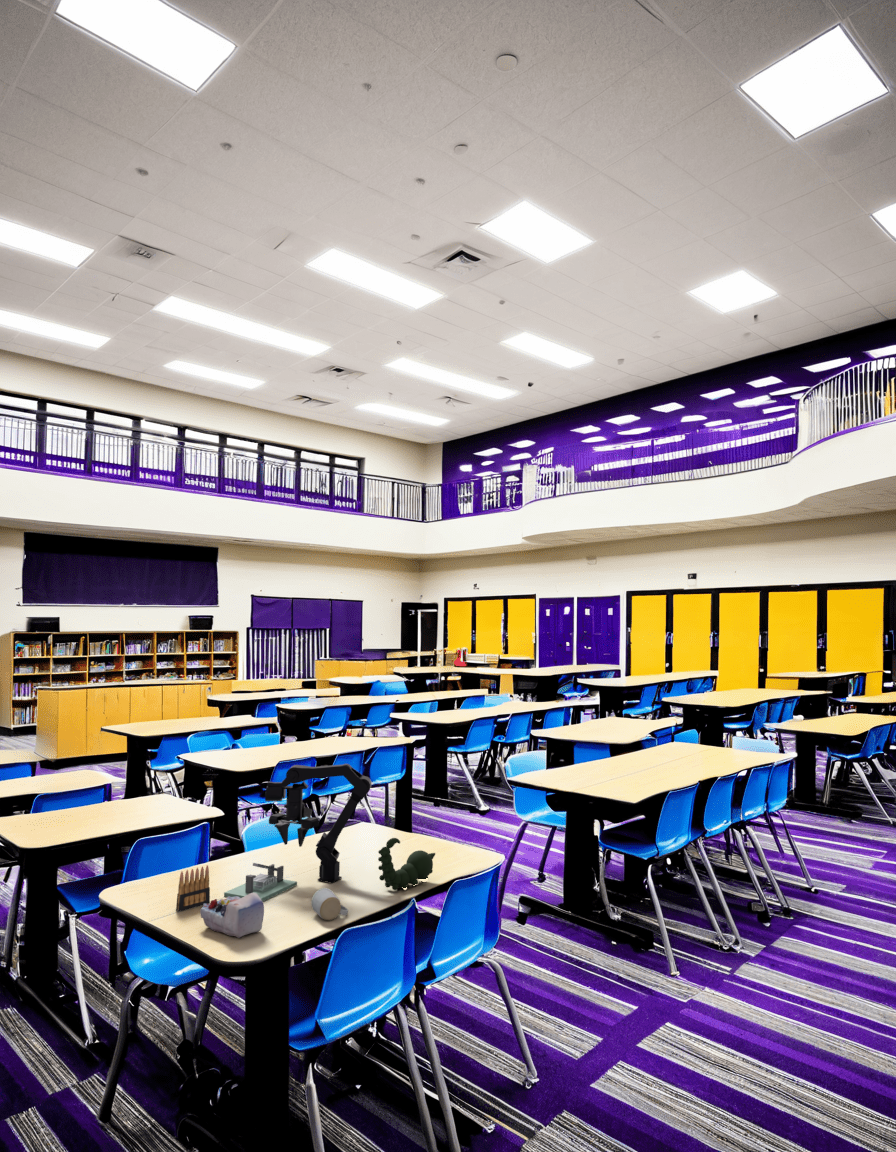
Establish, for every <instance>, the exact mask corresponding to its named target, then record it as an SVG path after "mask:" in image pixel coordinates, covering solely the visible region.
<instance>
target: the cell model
mask: <svg viewBox="0 0 896 1152" xmlns="http://www.w3.org/2000/svg"><path fill="white" fill-rule="evenodd" d="M199 912H200V918H201V919H203V922H204V925H205V926H206V927H207V928H208V929H210V930H212V931H214V932H218V933H223V934H224V935H227V936H229V937H232V936H234V937H236V938H239V939H240V938H242V937H244V936H246V935H249V934H252V933H253V934H255V933H258V932H261V930H262V928H263V923H264V916H265V905H264V901H262V900H261V899H260V897H259V896H258V894H257V893H250V894H248V895H246V896H244V897H242V898H240V897H238V896H235V897H230V896H228V897H226V898H221V899H219V900H218V899H217V898H214V899H212V900H210V903H209V904H205V903H204V904H203V905H202V906H201V908H200V910H199Z"/></svg>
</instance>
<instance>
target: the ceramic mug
mask: <svg viewBox="0 0 896 1152" xmlns="http://www.w3.org/2000/svg"><path fill="white" fill-rule="evenodd" d="M310 904H311V908H312V910H313V912H315V914H317V916H319V917H320V918H321V919H322V920H324V921H332V920H334V919H336V918H337V917H338V916H339V915H341V916H347V915H348V912H349V909H348V908H347V907H345V906H344V905H342V903H341V901H340V899H339V898H338V896H336V894H335V893H334V891H333V890H332V889H329V888H327V887H323V888H322V887H321V888H320V889H317V891H315V892H314V894H313V896H312V898H311V903H310Z"/></svg>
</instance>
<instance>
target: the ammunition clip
mask: <svg viewBox="0 0 896 1152" xmlns="http://www.w3.org/2000/svg"><path fill="white" fill-rule="evenodd" d="M200 868H201V869H200V870H199V867H196V869H195V872H194V869H193V868H191V871H190V873H189V870H188V869H186V871H185V875H184V871H182V870H181V872H180V876H179V882H178V889H177V890H178V891H177V892H178V893H177V897H176V905H175V906H176V907H175V911H177V912H184V911H187V910H191V909H194V908H198V907H203V904H204V903H205V904H210V903H211V893H210V892H211V891H210V890H211V888H210V870H209V865H208V864H207V865H206V867H205V869H204V866H201V867H200ZM189 874H190V876H189Z"/></svg>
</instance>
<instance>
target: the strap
mask: <svg viewBox="0 0 896 1152" xmlns="http://www.w3.org/2000/svg"><path fill="white" fill-rule="evenodd" d="M252 866H253V867H257V868H261V869H265V870H268V869H269V870H273V871H274V872H277V867H275V866H274V867H270V866H269V865H266V864H261V863H256V862H252Z"/></svg>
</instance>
